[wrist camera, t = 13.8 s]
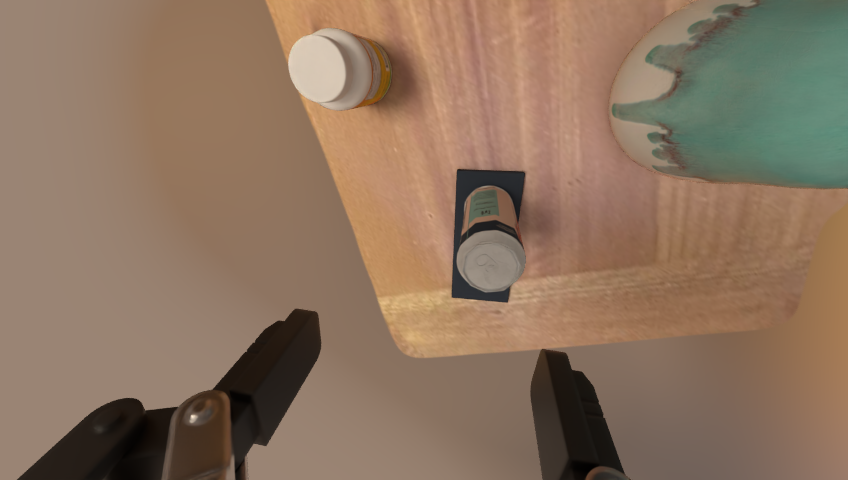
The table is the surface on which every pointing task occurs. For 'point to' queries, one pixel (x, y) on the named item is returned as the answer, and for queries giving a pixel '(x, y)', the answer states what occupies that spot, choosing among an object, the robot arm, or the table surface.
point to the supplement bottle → (339, 69)
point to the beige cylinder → (490, 241)
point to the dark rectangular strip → (464, 188)
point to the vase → (739, 94)
